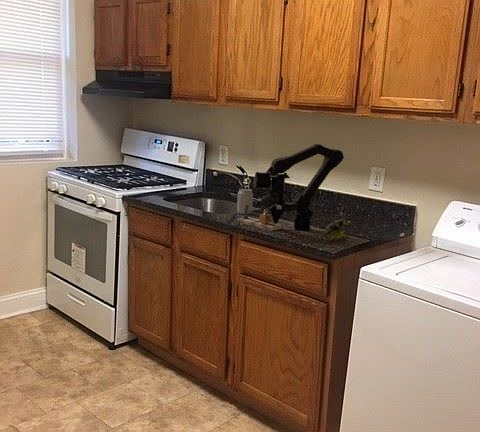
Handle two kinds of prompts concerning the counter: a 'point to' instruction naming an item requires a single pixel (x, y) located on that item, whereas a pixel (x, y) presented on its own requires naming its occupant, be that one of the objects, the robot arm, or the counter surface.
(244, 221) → the bolt plate
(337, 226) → the green leafy plant
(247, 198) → the can
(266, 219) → the orange slider block
